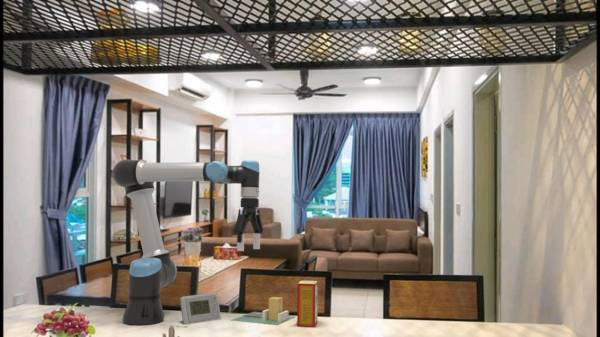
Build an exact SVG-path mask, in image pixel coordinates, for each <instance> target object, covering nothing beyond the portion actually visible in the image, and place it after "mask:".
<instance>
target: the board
mask: <svg viewBox="0 0 600 337" xmlns="http://www.w3.org/2000/svg"><path fill="white" fill-rule="evenodd" d="M289 314H290V312H289V310H284V311H283V312H281V313H279V314H278V321H275V320H269V308H267V309H265V310H262V312H261V311H252V312H249V313H247V314H243V315H241V316H238V317H235V318H232V319H230V321H232V322H241V323H243V322H244V323H250V324H259V325H260V324H261V325H270V326H271V325H272V326H279V325H282V324H284V323H287V322H289V321H291V320H292V319H295V318H296V316H293V315H289Z"/></svg>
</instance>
